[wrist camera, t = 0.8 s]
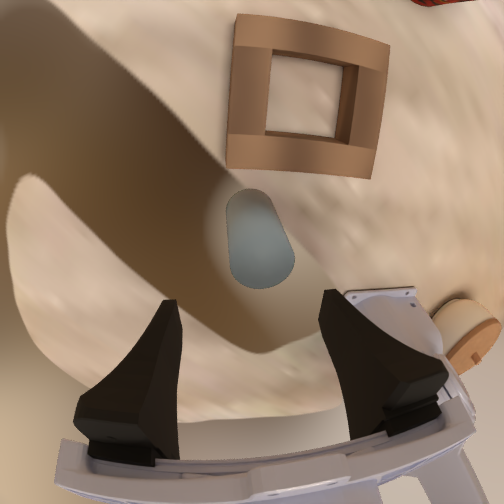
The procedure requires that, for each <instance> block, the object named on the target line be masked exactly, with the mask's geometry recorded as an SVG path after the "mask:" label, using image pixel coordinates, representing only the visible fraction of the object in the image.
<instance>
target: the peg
mask: <svg viewBox="0 0 504 504" xmlns="http://www.w3.org/2000/svg"><path fill="white" fill-rule="evenodd" d="M226 220H227V234H228V248H229V259H230V269H231V272H232V275H233V276H234V278H235V279H236V280H237V281H238V282H239V283H241V284H242V285H244V286H247V287H249V288H254V289H264V288H269V287H272V286H275V285H277V284H279V283H281V282H282V281H283V280H285V279H286V278H287V277H288V275H289V274H290V273H291V271H292V269H293V267H294V262H295V258H294V257H295V256H294V252H293V250H292V247H291V245H290V243H289V240H288V238H287V235H286V233H285V231H284V229H283V226H282V224H281V222H280V219H279V217H278V215H277V213H276V210H275V208H274V206H273V204H272V202H271V200H270V198H269V197H268V196H267V195H266V194H265V193H264V192H262V191H260V190H256V189H245V190H242V191H239V192H237V193H236V194H234V195H233V196H232V197H231V199H230V200H229V202H228V204H227V207H226Z"/></svg>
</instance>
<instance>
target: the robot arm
mask: <svg viewBox="0 0 504 504" xmlns="http://www.w3.org/2000/svg"><path fill="white" fill-rule="evenodd" d="M416 293H417V289H416V288H415V287H411V288H398V289H384V290H368V291H351V292H347V293H346V294H345V295H344V296H343V295H342V294H341V293H340V292H339V291H337V290H336V289H330V290H324V294H323V299H322V304H321V309H320V313H319V318H318V321H319V325H320V329H321V333H322V337H323V339H324V342H325V344H326V347H327V349H328V352H329V354H330V357H331V359H332V362H333V364H334V367H335V369H336V372H337V375H338V378H339V382H340V386H341V390H342V394H343V399H344V403H345V408H346V413H347V419H348V425H349V433H350V441H347V442H344V443H339V444H335V445H331V446H327V447H322V448H317V449H312V450H306V451H301V452H295V453H289V454H282V455H275V456H266V457H256V458H245V459H229V460H180V456H179V445H178V430H177V384H178V376H179V368H180V360H181V353H182V330H183V329H182V324H181V320H180V315H179V311H178V306H177V301H176V300H163V301H162V303H161V305H160V306H159V308H158V310H157V312H156V314H155V315H154V317H153V319H152V320H151V322H150V324H149V325H148V327H147V328H146V330H145V332H144V333H143V334H142V336H141V337H140V339H139V340H138V342H137V343H136V344H135V346H134V347H133V348H132V350H131V351H130V352H129V353H128V354H127V356H126V357H125V358H124V359H123V360H122V361H121V362H120V363H119V364H118V366H117V367H116V368H115V369H114V370H113V371H112V372H111V373H109V374H108V375H107V376H106V377H105V378H104V379H103V380H102V381H100V382H99V383H98V384H97V385H95V386H94V387H93V388H91V389H90V390H88V391H87V392H86V393H84V394H83V395H81V396H80V398H79V401H78V403H77V407H76V411H75V415H74V419H73V423H74V425H75V427H76V428H77V429H78V430H79V431H80V432H81V433H83V434H84V435H85V436H86V437H87V438H88V439H89V446H88V445H87V444H84V443H81V442H77V441H72V440H68V439H64V438H63V439H61V444H60V450H59V455H58V460H57V466H56V474H55V480H54V483H55V484H56V485H57V486H59V487H61V488H64V489H66V490H68V491H70V492H72V493H75V494H77V495H80V496H82V497H85V498H89V499H93V500H96V501H100V502H105V503H109V504H383V503H382V499H381V496H380V492H379V489H378V486H379V485H382V484H384V483H386V482H389V481H392V480H394V479H396V478H399V477H401V476H412V477H417V478H418V479H419V481H420V483H421V485H422V487H423V488H424V490H425V492H426V494H427V496H428V498H429V500H430V502H431V504H489V502H488V500H487V498H486V496H485V493H484V491H483V489H482V487H481V484H480V482H479V480H478V478H477V476H476V474H475V472H474V470H473V468H472V466H471V464H470V462H469V460H468V458H467V456H466V454H465V452H464V450H463V446H464V444H465V442H466V440H467V439H468V438H469V437H471V436H472V435H473V434H475V433H476V429H475V427H474V423H475V420H476V417H475V413H476V411H475V408H474V405H473V403H472V401H471V400H470V397H469V394H468V392H467V390H466V388H465V386H464V384H463V383H462V381H461V379H460V378H459V376H458V374H457V372H456V371H455V369H454V368H453V366H452V365H451V363H450V362H449V361H448V359H447V358H446V357H445V356H444V355H443V354H442V353H443V342H442V337H441V334H440V332H439V330H438V328H437V327H436V325H435V324H434V322H433V321H432V319H431V318H430V317H429V315H428V314H427V312H426V311H425V310H424V308H423V307H422V305H421V304H420V303H419V301H418V300H417V299H416V297H415V295H416ZM354 295H355V296H354Z"/></svg>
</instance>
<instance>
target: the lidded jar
mask: <svg viewBox="0 0 504 504" xmlns="http://www.w3.org/2000/svg"><path fill="white" fill-rule="evenodd" d="M432 321H433V322H434V324H435V325H436V327H437V328H438V330H439V332H440V334H441V337H442V342H443V353H442V354H443V355H444V356H445V357H446V358H447V359H448V361H449V362H450V363H451V365H452V366H453V368H454V369H455V371H456V372H457V374H458V376H459V375H461V374H462V373H464V372H465V371H467V370H468V369H470V368H471V367H472V366H474V365H478V364H479V363H480V362H481V361H482V360H481V359H482V357H483V356H484V355H486V353H487V352H488V351H489V350H490V349H491V347H492V346H493V345H494V343H495V342H496V340H497V338H498V336H499V334H500V332H501V324H500V322H499V321H498V320H497V319H496V318H495V317H494V316H493V315H492V314H491V312H490V311H489V310H488V309H487V308H485V307H484V306H483V305H482V304H480V303H478V302H476V301H474V300H470V299H461V300H460V299H453V300H451V301H449V302H447V303H446V304H444V305H443V306H442V307H441V308H440V309H439V310H438V311H437V312H436V313H435V315H434V316H433V318H432Z"/></svg>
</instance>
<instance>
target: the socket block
mask: <svg viewBox="0 0 504 504" xmlns="http://www.w3.org/2000/svg"><path fill="white" fill-rule="evenodd" d="M272 54H274V55H282V56H289V57H296V58H302V59H308V60H314V61H319V62H324V63H329V64H334V65H338V66H343V67H344V69H343V78H342V87H341V96H340V104H339V112H338V119H337V126H336V133H335V138H329V137H322V136H314V135H306V134H297V133H287V132H276V131H265V127H266V116H267V104H268V93H269V82H270V71H271V59H272ZM389 54H390V45H388V44H385V43H382V42H379V41H376V40H373V39H370V38H367V37H364V36H361V35H357V34H354V33H350V32H347V31H343V30H339V29H335V28H331V27H327V26H323V25H318V24H313V23H308V22H303V21H298V20H292V19H285V18H278V17H270V16H262V15H251V14H237V17H236V21H235V28H234V39H233V51H232V63H231V76H230V90H229V105H228V121H227V138H226V157H225V160H226V168H228V169H257V170H276V171H291V172H304V173H316V174H327V175H337V176H346V177H355V178H363V179H371V175H372V170H373V165H374V160H375V155H376V150H377V144H378V139H379V133H380V127H381V121H382V114H383V107H384V100H385V92H386V84H387V75H388V65H389Z"/></svg>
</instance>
